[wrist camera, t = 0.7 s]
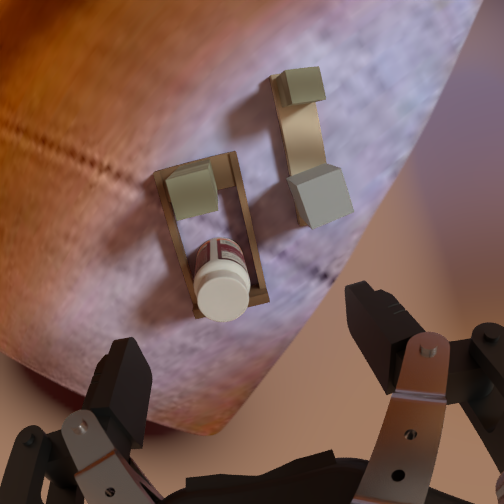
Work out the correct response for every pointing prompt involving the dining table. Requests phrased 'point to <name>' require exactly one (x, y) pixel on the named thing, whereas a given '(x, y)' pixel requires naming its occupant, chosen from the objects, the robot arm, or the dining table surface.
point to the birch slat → (299, 118)
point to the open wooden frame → (205, 209)
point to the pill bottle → (221, 280)
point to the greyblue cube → (320, 195)
